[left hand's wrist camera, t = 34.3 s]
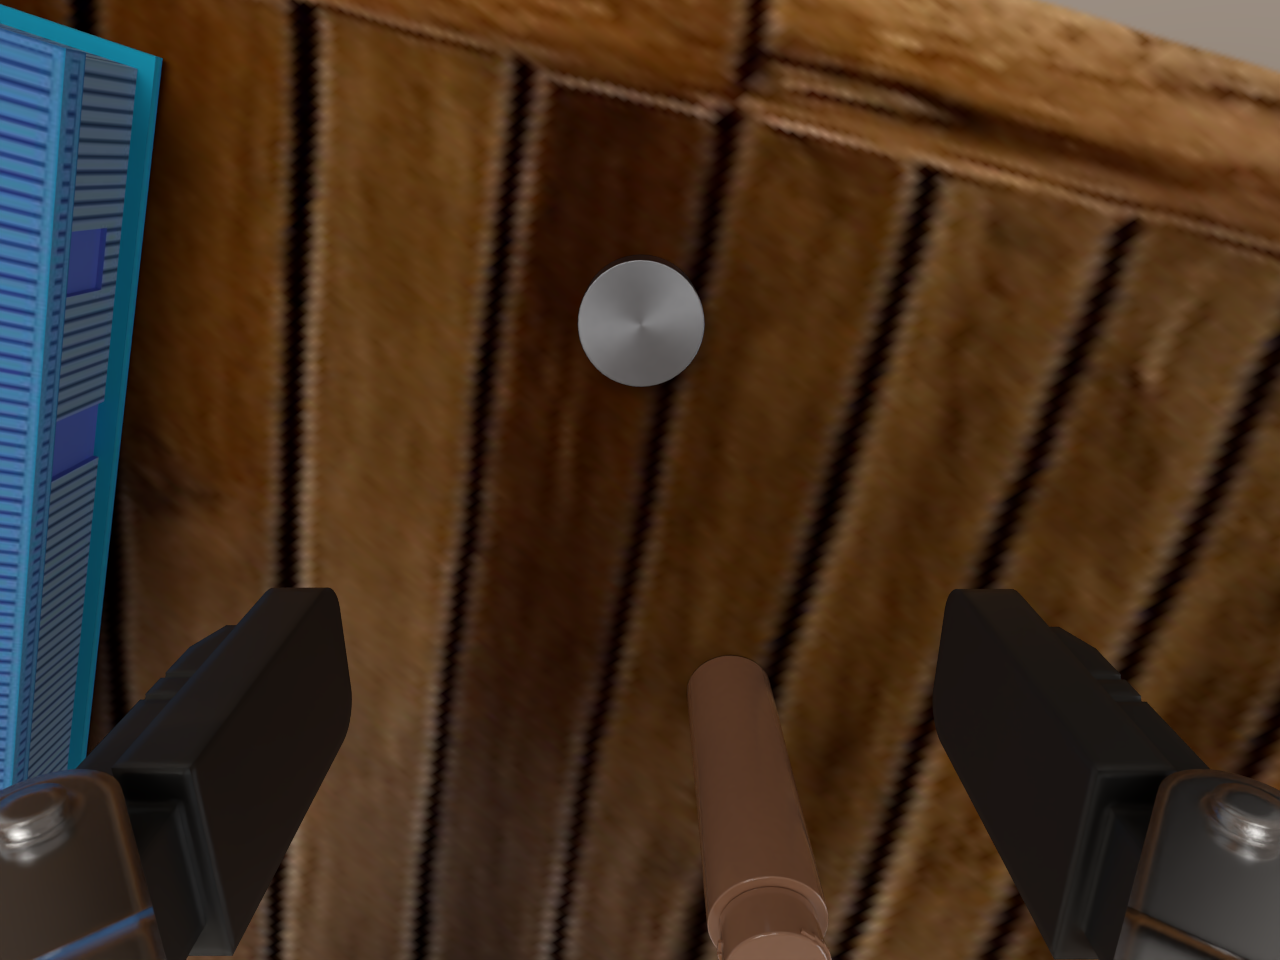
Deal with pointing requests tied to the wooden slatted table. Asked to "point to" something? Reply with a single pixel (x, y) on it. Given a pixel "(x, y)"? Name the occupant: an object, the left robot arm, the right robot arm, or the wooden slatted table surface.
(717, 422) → the wooden slatted table surface
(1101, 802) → the left robot arm
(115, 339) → the model building
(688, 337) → the lid
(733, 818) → the brown cylinder
